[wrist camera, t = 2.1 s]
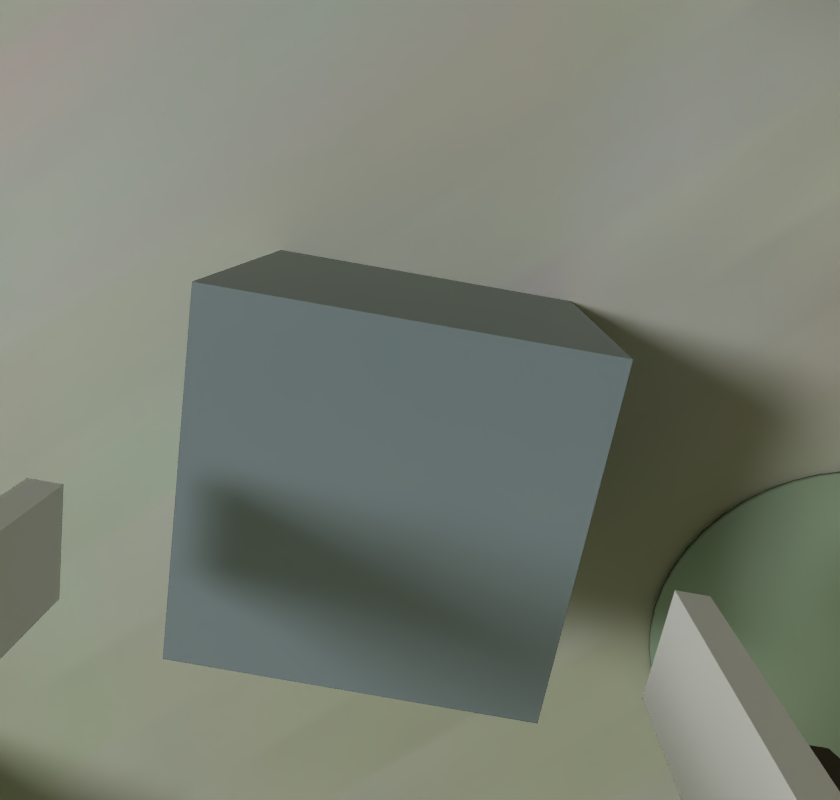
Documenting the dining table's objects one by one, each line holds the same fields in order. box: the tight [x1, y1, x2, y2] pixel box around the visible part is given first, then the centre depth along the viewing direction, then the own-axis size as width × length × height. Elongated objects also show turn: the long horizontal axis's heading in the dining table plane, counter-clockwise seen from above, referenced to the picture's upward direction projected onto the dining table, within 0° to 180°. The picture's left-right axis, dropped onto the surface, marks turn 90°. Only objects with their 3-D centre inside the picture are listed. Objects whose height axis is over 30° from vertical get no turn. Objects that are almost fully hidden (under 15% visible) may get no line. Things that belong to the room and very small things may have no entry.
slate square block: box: [163, 250, 633, 723], centre depth 22 cm, size 10×10×9 cm
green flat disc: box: [649, 472, 840, 758], centre depth 28 cm, size 14×14×1 cm
